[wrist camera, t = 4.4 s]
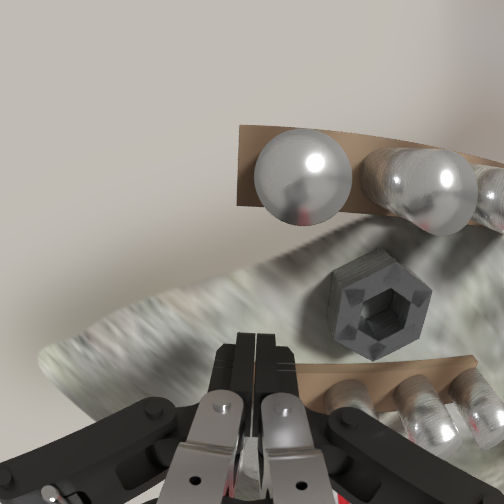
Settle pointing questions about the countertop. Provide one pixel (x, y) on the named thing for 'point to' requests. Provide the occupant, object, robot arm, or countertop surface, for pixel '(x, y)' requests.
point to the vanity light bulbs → (388, 204)
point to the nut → (387, 322)
